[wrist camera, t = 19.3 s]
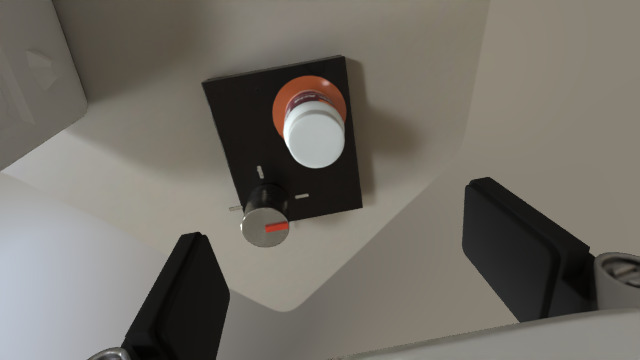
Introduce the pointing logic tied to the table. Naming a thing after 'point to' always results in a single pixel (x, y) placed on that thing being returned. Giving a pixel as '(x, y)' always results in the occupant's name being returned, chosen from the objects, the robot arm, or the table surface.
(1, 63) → the radio
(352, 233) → the table surface
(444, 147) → the table surface
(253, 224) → the hob knob
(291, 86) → the burner ring
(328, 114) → the pill bottle
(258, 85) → the hob
